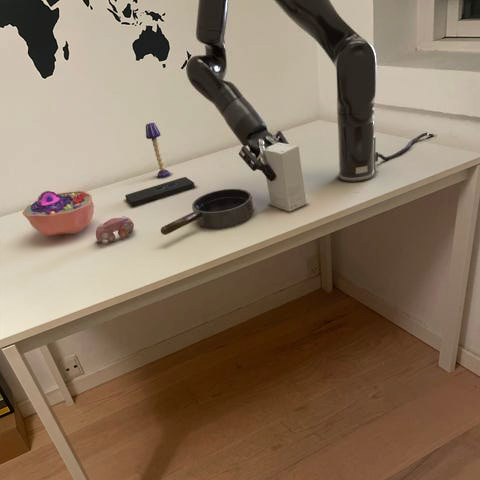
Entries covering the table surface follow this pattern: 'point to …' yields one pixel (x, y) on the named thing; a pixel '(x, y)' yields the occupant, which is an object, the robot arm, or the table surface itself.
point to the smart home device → (159, 191)
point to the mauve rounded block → (114, 229)
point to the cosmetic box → (285, 176)
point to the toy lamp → (156, 147)
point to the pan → (223, 208)
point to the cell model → (60, 212)
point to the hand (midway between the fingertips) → (283, 174)
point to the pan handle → (180, 222)
